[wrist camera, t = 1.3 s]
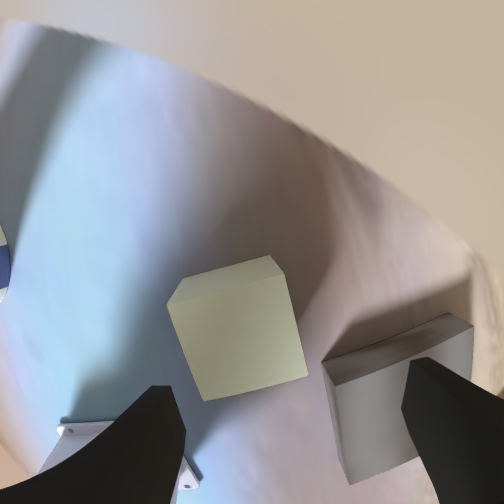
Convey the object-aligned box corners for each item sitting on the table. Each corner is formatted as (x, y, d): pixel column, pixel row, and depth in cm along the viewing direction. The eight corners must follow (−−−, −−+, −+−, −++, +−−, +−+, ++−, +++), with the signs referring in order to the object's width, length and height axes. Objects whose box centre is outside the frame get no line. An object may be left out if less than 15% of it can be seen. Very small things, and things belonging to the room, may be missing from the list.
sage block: (208, 355, 18) (203, 401, 14) (183, 277, 18) (166, 304, 13) (289, 334, 19) (308, 375, 14) (269, 254, 18) (284, 273, 13)
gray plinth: (338, 460, 20) (349, 485, 18) (321, 362, 19) (334, 386, 16) (445, 413, 21) (462, 431, 18) (448, 312, 19) (473, 326, 16)
